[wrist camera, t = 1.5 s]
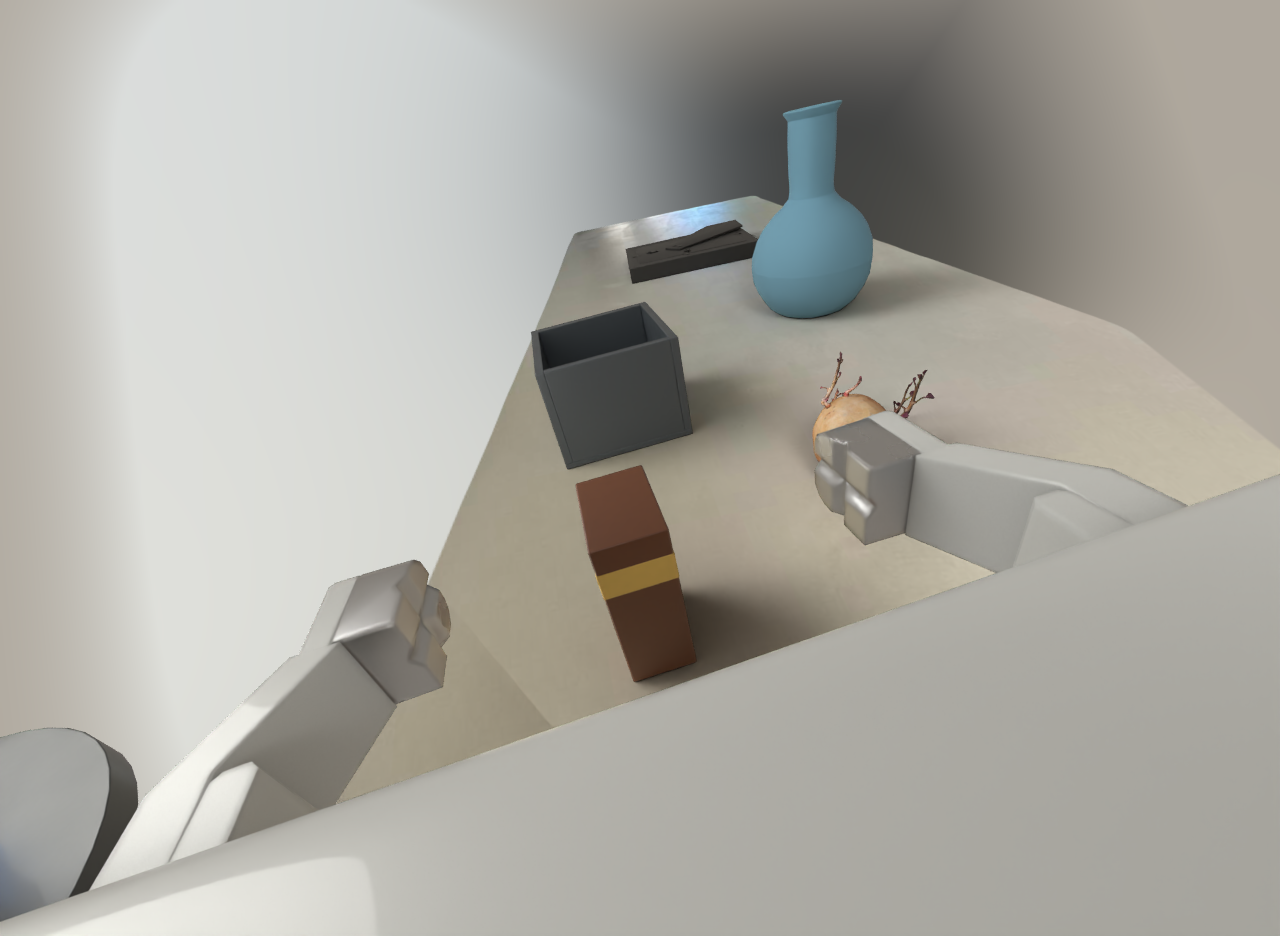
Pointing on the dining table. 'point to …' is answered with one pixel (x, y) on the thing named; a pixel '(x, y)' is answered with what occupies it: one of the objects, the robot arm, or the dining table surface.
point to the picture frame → (691, 251)
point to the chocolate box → (636, 571)
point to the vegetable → (855, 406)
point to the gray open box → (611, 383)
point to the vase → (812, 228)
